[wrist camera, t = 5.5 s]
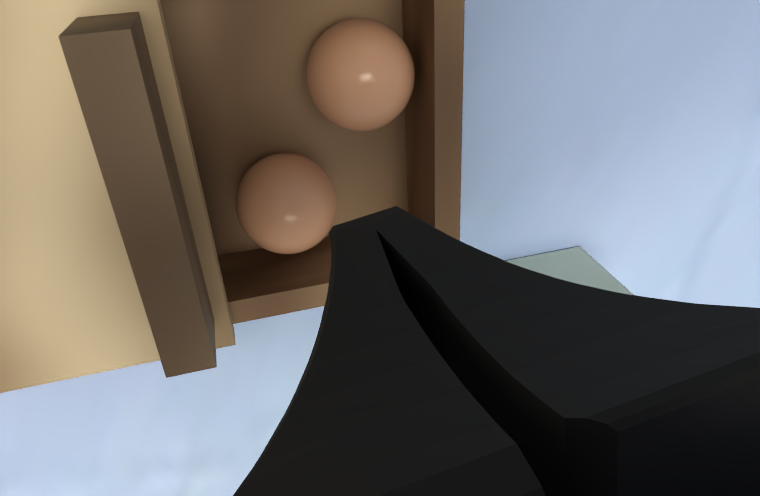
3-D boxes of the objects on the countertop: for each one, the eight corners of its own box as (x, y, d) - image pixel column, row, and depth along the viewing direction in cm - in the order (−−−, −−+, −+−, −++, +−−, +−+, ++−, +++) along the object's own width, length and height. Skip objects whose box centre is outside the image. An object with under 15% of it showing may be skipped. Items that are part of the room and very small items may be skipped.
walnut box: (418, -77, 17) (465, -72, 14) (423, 227, 22) (458, 279, 19) (-45, -43, 15) (-105, -28, 12) (81, 288, 20) (60, 357, 17)
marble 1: (322, 132, 19) (342, 168, 16) (331, 217, 20) (350, 262, 18) (224, 146, 18) (229, 186, 16) (241, 232, 20) (248, 281, 17)
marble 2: (395, 5, 17) (429, 23, 15) (398, 106, 19) (430, 138, 16) (292, 15, 17) (309, 35, 14) (305, 119, 18) (322, 154, 16)
